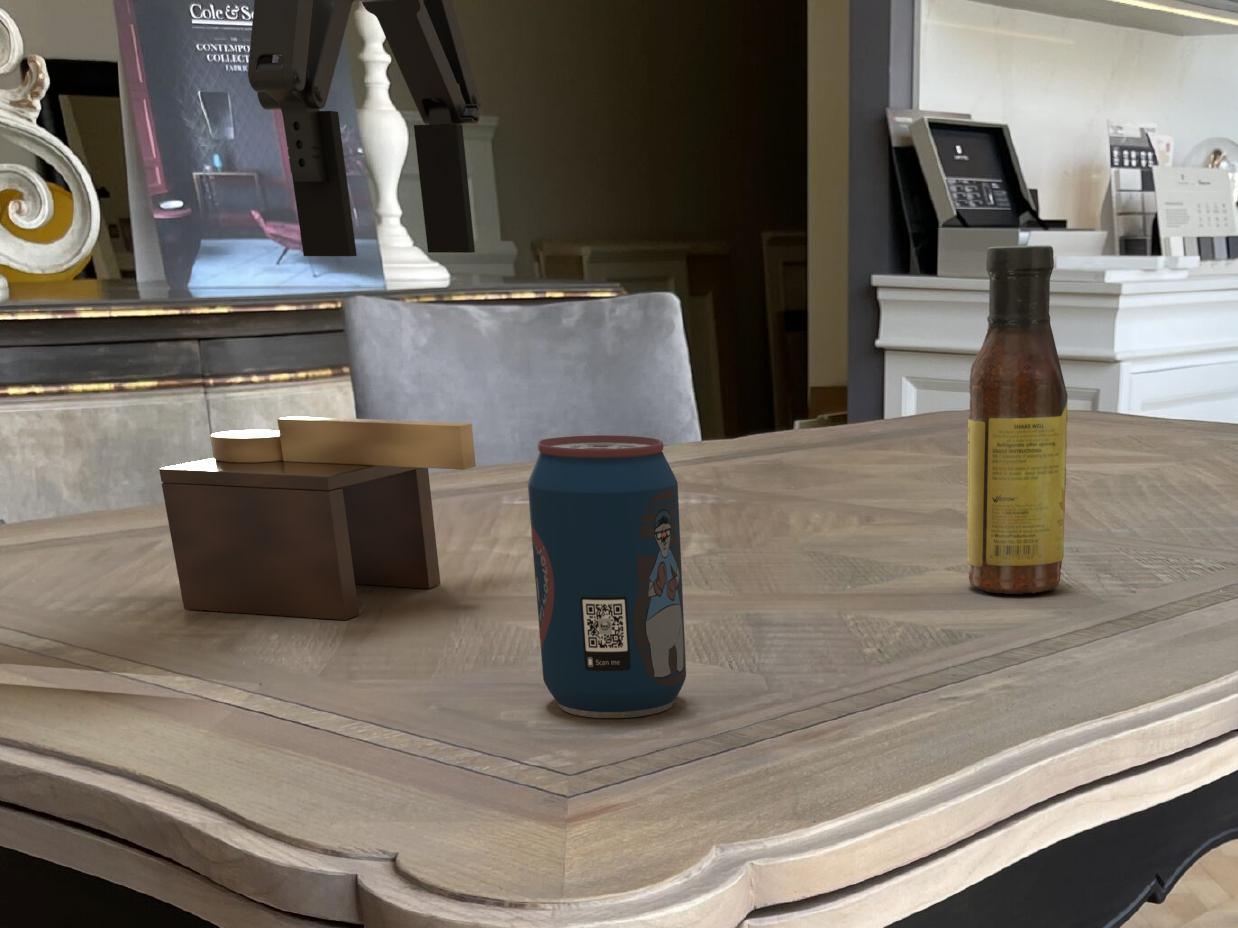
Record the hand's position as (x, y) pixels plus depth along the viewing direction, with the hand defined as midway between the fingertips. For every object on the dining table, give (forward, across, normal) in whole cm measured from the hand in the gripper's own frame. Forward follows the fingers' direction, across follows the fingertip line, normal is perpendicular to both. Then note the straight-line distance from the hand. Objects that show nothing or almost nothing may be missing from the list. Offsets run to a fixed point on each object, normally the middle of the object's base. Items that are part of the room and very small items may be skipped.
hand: (394, 255), depth 95 cm
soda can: (+20, -19, -20) cm, 34 cm away
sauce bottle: (+20, +17, -33) cm, 42 cm away
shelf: (+19, +1, +9) cm, 21 cm away
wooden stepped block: (+11, +1, +6) cm, 13 cm away
